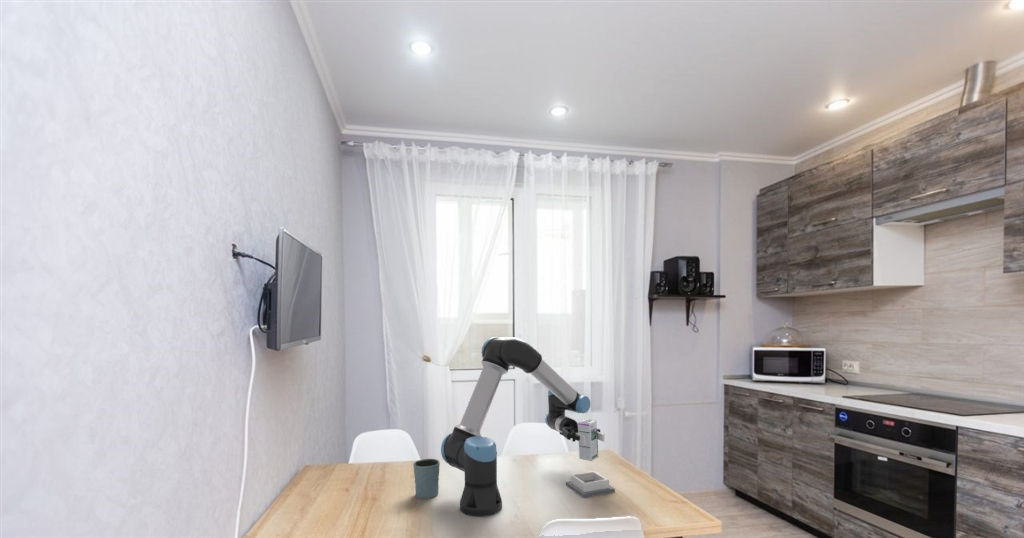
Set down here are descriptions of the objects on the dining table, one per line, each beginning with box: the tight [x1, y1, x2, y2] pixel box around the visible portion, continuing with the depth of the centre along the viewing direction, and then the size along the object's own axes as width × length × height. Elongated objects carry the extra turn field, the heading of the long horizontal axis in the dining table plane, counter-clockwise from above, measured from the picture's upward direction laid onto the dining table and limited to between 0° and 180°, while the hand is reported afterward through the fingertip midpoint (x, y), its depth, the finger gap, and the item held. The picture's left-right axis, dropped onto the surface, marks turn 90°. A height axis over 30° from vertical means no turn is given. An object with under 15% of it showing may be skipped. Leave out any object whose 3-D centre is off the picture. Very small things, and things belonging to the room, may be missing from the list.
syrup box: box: [577, 418, 599, 462], centre depth 179 cm, size 6×6×14 cm
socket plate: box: [565, 470, 616, 498], centre depth 177 cm, size 14×14×4 cm
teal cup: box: [413, 458, 441, 500], centre depth 174 cm, size 10×10×12 cm
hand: (594, 439), depth 175 cm, fingers closed on syrup box, 8 cm apart
